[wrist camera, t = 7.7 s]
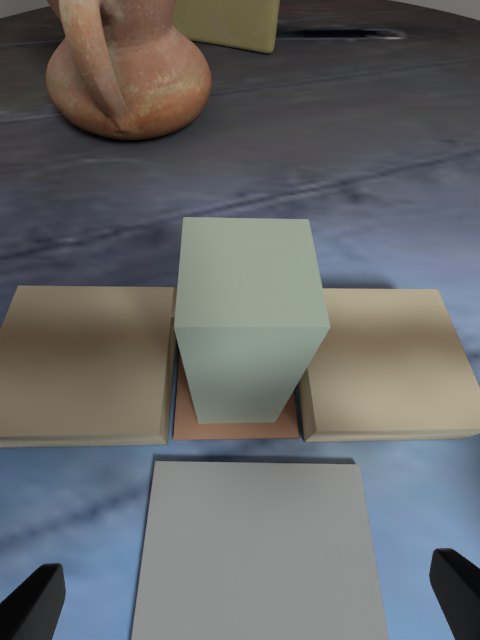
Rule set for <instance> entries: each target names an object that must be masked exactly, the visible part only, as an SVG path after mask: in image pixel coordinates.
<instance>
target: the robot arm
mask: <svg viewBox="0 0 480 640" xmlns="http://www.w3.org/2000/svg"><path fill="white" fill-rule="evenodd" d="M429 577H430V583H431V586H432V588H433V591H434V593H435V595H436V597H437V600H438V602H439V604H440V606H441V609H442V611H443V613H444V615H445V618H446V620H447V622H448V624H449V627H450V629H451V631H452V633H453V636H454V638H455V640H480V569H479V568H478V567H477V566H475V565H474V564H473V563H471V562H470V561H469V560H467V559H466V558H465V557H463V556H462V555H460V554H459V553H458V552H456V551H455V550H453V549H450V548H439V549H435V550H434V551H433V556H432V561H431V567H430V573H429ZM65 593H66V589H65V581H64V574H63V567H62V565H61V564H59V563H52V564H43V565H42V566H40V567H39V568H38V569H37V570H35V571H34V572H33V573H32V574H31V575H30V576H29V577H28V578H27V579H26V580H25V581H24V582H23V583H22V584H21V585H19V586H18V587H17V588H16V589H15V590H14V591H13V592H12V593H11V594H10V595H9V596H8V597H7V598H6V599H4V600H3V601H2V602H1V603H0V640H52V638H53V635H54V631H55V628H56V625H57V622H58V619H59V616H60V613H61V610H62V607H63V604H64V600H65Z"/></svg>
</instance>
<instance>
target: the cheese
mask: <svg viewBox="0 0 480 640" xmlns="http://www.w3.org/2000/svg"><path fill="white" fill-rule="evenodd" d="M279 2H280V0H176V5H175V9H174V14H173V18H172V25H173V26H174V27H175V28H176V29H177V30H178V31H179V32H180V33H181V34H183V35H184V36H185V37H187V38H188V39H189V40H190V41H196V42H202V43H209V44H215V45H221V46H226V47H232V48H238V49H243V50H248V51H254V52H259V53H265V54H270V53H271V52H272V51H273V49H274V45H275V37H276V28H277V20H278V11H279Z"/></svg>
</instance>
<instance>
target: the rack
mask: <svg viewBox="0 0 480 640" xmlns="http://www.w3.org/2000/svg"><path fill="white" fill-rule="evenodd" d="M323 293H324V298H325V303H326V308H327V312H328V317H329V322H330V329H329V330H328V332H327V334H326V336H325V337H324V339H323V341H322V343H321V344H320V346H319V348H318V349H317V351H316V353H315V355H314V356H313V358H312V360H311V361H310V363H309V365H308V367H307V368H306V370H305V372H304V373H303V375H302V377H301V379H300V380H299V382H298V384H297V385H298V393H299V401H300V409H301V418H302V426H303V434H304V442H335V441H389V440H444V439H465V438H468V437H471V436H474V435H478V434H480V387H479V385H478V382H477V380H476V378H475V375H474V373H473V371H472V368H471V366H470V364H469V361H468V359H467V357H466V354H465V352H464V349H463V347H462V345H461V342H460V340H459V338H458V335H457V333H456V331H455V328H454V326H453V324H452V321H451V319H450V317H449V314H448V312H447V310H446V307H445V305H444V303H443V300H442V298H441V296H440V293H439V291H438V289H338V288H323ZM176 298H177V287H112V286H18V287H17V290H16V292H15V294H14V297H13V299H12V302H11V304H10V306H9V309H8V311H7V314H6V316H5V319H4V321H3V323H2V326H1V328H0V448H5V447H60V446H115V445H167V443H168V431H169V420H170V408H171V396H172V385H173V373H174V361H175V350H176V339H177V338H176V334H175V330H174V321H175V309H176ZM275 438H299V432H298V423H297V415H296V406H295V398H294V391H293V392H292V394H291V396H290V398H289V399H288V401H287V403H286V404H285V406H284V408H283V410H282V411H281V413H280V415H279V416H278V418H277V420H276V422H259V423H209V424H198V420H197V416H196V413H195V409H194V405H193V401H192V397H191V393H190V389H189V385H188V381H187V377H186V373H185V369H184V365H183V361H182V357H181V353H180V358H179V371H178V384H177V397H176V410H175V423H174V436H173V440H218V439H275Z"/></svg>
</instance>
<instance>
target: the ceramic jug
mask: <svg viewBox="0 0 480 640" xmlns="http://www.w3.org/2000/svg"><path fill="white" fill-rule="evenodd" d="M47 2H48V3H49V5H50V6H51V8H52V9H53V10H54V12H55V13H56V14H57V16H58V17H59V18H60V20H61V21H62V25H63V28H64V32H65V36H66V37H65V38H64V40H63V41H62V42H61V44H60V45H59V46H58V48H57V49H56V50H55V52H54V53H53V55H52V57H51V59H50V61H49V63H48V66H47V71H46V84H47V90H48V93H49V96H50V98H51V100H52V102H53V103H54V105H55V106H56V108H57V109H58V110H59V111H60V113H61V114H62V115H63V116H64V117H65V118H66V119H67V120H68V121H70V122H71V123H72V124H74V125H76V126H77V127H79V128H81V129H83V130H85V131H88V132H90V133H93V134H96V135H99V136H102V137H107V138H111V139H117V140H143V139H151V138H156V137H161V136H165V135H168V134H171V133H173V132H176V131H178V130H180V129H181V128H183V127H185V126H187V125H188V124H190V123H191V122H192V121H194V120H195V119H196V118H197V117H198V116H199V115H200V113H201V112H202V111H203V109H204V107H205V106H206V104H207V101H208V99H209V95H210V91H211V73H210V69H209V66H208V64H207V61H206V59H205V57H204V56H203V54H202V52H201V51H200V50H199V49H198V47H197V46H196V45H195V44H194V43H193V42H191V41H190V40H189V39H188V38H187V37H185V36H184V35H183V34H181V33H180V32H179V31H178V30H177V29H176V28H175V27H174V26H173V25H172V18H173V14H174V9H175V5H176V0H47Z"/></svg>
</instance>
